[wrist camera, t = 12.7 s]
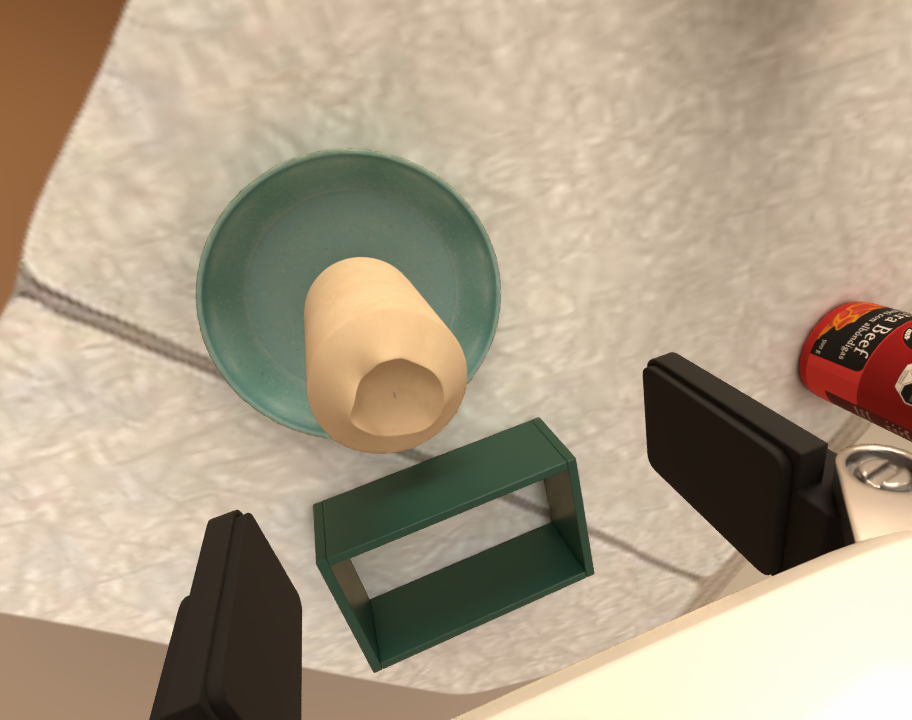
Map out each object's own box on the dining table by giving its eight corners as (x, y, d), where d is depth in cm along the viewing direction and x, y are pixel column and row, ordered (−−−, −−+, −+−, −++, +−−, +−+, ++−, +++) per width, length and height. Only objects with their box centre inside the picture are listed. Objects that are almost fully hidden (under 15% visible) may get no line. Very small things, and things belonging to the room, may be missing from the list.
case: (312, 504, 31) (315, 564, 27) (539, 416, 34) (576, 458, 29) (364, 608, 36) (373, 673, 31) (560, 524, 38) (594, 574, 34)
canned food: (876, 281, 38) (1076, 329, 28) (873, 365, 41) (1048, 433, 32) (792, 327, 37) (967, 392, 27) (797, 408, 41) (953, 490, 31)
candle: (317, 372, 25) (329, 496, 16) (291, 266, 23) (287, 343, 14) (423, 350, 26) (486, 454, 17) (408, 246, 24) (473, 306, 15)
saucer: (446, 110, 25) (462, 107, 22) (508, 364, 31) (525, 382, 29) (143, 201, 22) (126, 208, 20) (279, 453, 29) (277, 480, 27)
